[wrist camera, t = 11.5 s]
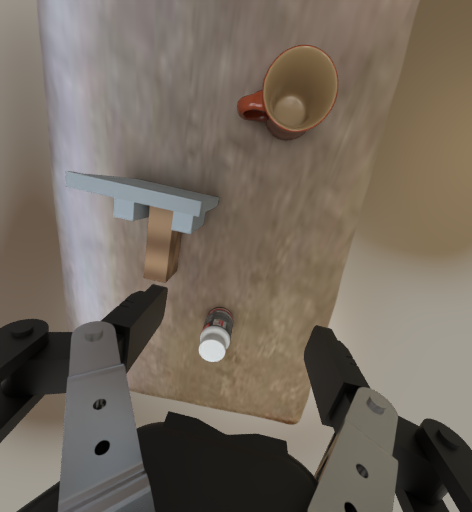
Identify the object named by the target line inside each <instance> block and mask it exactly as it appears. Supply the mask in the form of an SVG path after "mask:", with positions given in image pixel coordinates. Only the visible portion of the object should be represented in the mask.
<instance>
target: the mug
mask: <svg viewBox="0 0 472 512" xmlns="http://www.w3.org/2000/svg"><path fill="white" fill-rule="evenodd" d="M337 92H338V75H337V71H336V68H335V65H334V63H333V61H332V60H331V58H330V57H329V56H328V55H327V54H326V53H325V52H324V51H322V50H321V49H319V48H317V47H314V46H311V45H299V46H294V47H292V48H290V49H288V50H286V51H284V52H283V53H282V54H280V55H279V56H278V57H277V58H276V59H275V60H274V62H273V63H272V64H271V66H270V68H269V69H268V71H267V74H266V76H265V78H264V82H263V90H261V91H258V92H256V93H254V94H251V95H248V96H244V97H242V98H241V99H240V100H239V101H238V104H237V108H238V114H239V116H240V117H241V118H242V119H245V120H253V121H259V122H266V125H267V128H268V129H269V131H270V132H271V133H272V134H273V135H274V136H275V137H277V138H279V139H282V140H292V139H295V138H298V137H300V136H301V135H303V134H304V133H305V132H306V131H307V130H309V129H311V128H313V127H315V126H317V125H318V124H319V123H321V122H322V121H323V120H324V119H325V118H326V116H327V115H328V114H329V112H330V111H331V109H332V107H333V105H334V103H335V100H336V97H337Z"/></svg>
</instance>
